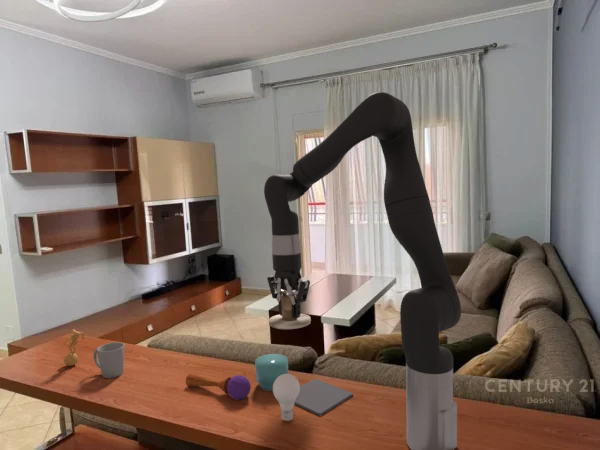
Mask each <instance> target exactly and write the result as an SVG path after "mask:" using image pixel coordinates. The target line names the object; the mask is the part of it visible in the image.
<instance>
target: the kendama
mask: <svg viewBox="0 0 600 450" xmlns="http://www.w3.org/2000/svg"><path fill="white" fill-rule="evenodd" d="M185 384H186V386H188V387H218V388H219V389H221V391H222V392H224V393H225V394H226V395H229V396H230V398H232V399H234V400H237V401H239V400H240V401H241V400H242V399H243V400H244V399H246V397H247V396H248V395H249V394H250V391H251V382H250V381H249V379H248V378H247V377H246V376H245V375H243V374H242V375H240V374H237V375H233V377H231V376H229V377H227V378H224V379H222V380H219V381H217V380H214V379H210V378H207V377H203V376H200V375H197V374H194V373H189V374H187V375H186V378H185Z"/></svg>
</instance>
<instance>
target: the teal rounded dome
mask: <svg viewBox="0 0 600 450" xmlns="http://www.w3.org/2000/svg"><path fill="white" fill-rule="evenodd" d="M254 364H255V365H254V366H255V367H254V368H255V380H256V382H257V383H258V384H259V388H260V389H262V390H263V391H268V392H273V384H274V381H275V380H276V378H277V377H279V376H280V375H282V374H289V359H288V357H287V356H286V355H283V354H280V353H267V354H264V355H261V356H257V358H256V359H254Z"/></svg>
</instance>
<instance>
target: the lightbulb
mask: <svg viewBox="0 0 600 450" xmlns="http://www.w3.org/2000/svg"><path fill="white" fill-rule="evenodd" d="M300 386H301V385H300V382H299V380H298V378H297V377H296V376H294V374H290V373H288V374H282V375H280V376H279V377H277V378H276V380H275V381H274V384H273V391H272V393H273V395H274V398H275V399H276V400H277V402H278V404H279V407H280V409H281V420H282V421H284V422H290V421H292V420H293V419H294V407H295V404H294V402H295V400H296V399H297V397H298V395H299V392H300Z"/></svg>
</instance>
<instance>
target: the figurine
mask: <svg viewBox="0 0 600 450" xmlns="http://www.w3.org/2000/svg"><path fill="white" fill-rule="evenodd" d="M80 335H82V337H81V339H82V340H85V332H82V331H81V332H80V331H77V330H76V329H74V328H73V329H71V335H70V336H69V337H68V338H67V339H66V341H64V343H63V345H62V346H61V350H62V349H63V348H64V346H65V345H66V344H67V343H68V341H70V340H71V341H70V342H69V344H68V345H67V349H68V350H69V353H67V354H66V355H65V356H64V358H63V363H64V364H65V366H68V367H72V366H74V365H76V364H77V363H78V360H79V356H78V355H77V354H76V353H75V352H76V351H77V346H76V345H77V344H78V342H79V340H78V339H79V338H80ZM71 347H73V348H71ZM73 349H74V350H73Z"/></svg>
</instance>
